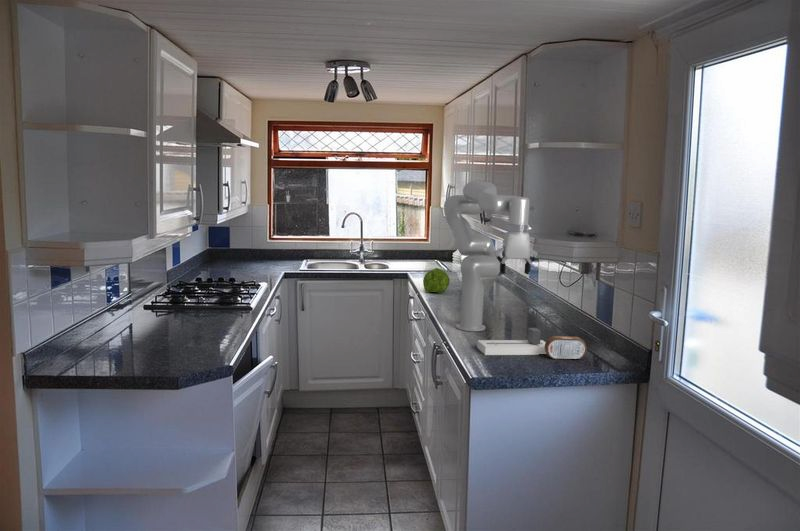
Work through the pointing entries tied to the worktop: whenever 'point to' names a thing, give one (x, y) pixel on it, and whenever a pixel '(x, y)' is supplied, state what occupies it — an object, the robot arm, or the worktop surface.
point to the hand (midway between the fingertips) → (514, 273)
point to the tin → (565, 347)
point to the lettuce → (436, 281)
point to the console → (510, 347)
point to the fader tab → (534, 335)
